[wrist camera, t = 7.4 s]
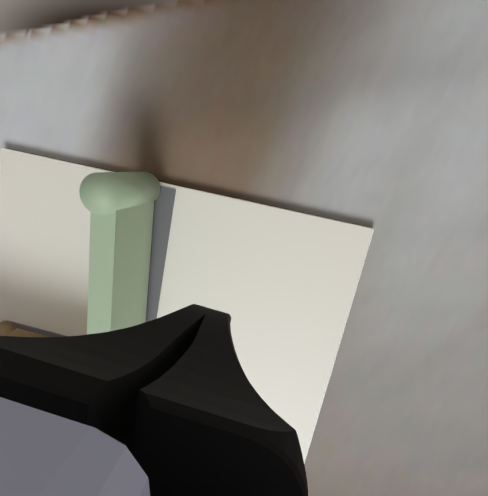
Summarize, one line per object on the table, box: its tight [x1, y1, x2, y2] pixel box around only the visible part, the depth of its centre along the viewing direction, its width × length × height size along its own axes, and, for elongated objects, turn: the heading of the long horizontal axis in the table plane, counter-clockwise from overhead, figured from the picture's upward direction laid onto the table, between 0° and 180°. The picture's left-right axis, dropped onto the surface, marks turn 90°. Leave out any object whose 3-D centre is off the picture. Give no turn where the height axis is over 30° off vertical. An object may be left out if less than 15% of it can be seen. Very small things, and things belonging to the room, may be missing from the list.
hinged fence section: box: [79, 171, 160, 334], centre depth 19 cm, size 13×2×5 cm, turn 173°
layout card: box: [0, 148, 374, 463], centre depth 22 cm, size 22×20×1 cm
